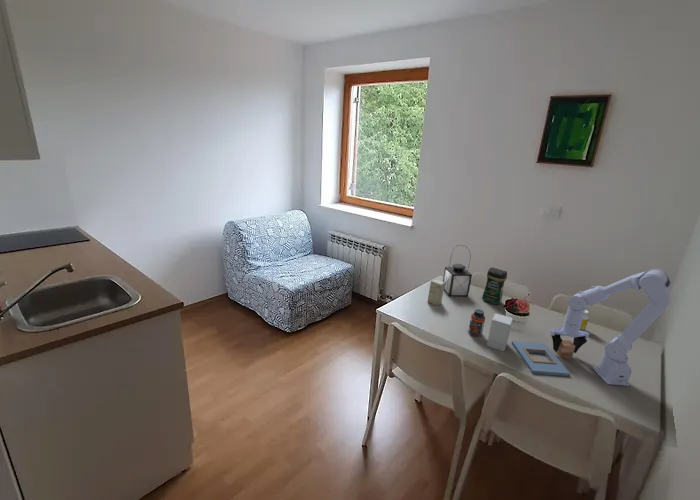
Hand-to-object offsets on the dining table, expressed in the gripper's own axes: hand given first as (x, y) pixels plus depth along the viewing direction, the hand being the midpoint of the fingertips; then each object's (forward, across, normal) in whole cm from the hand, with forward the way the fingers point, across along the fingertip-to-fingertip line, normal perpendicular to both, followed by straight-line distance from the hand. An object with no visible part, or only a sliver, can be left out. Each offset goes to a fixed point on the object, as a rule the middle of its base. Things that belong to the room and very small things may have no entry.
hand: (564, 350), depth 147 cm
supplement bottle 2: (+2, -19, -23) cm, 30 cm away
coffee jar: (+2, +14, -47) cm, 49 cm away
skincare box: (+2, +46, -40) cm, 61 cm away
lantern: (+2, +32, -55) cm, 64 cm away
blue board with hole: (+2, +12, +4) cm, 13 cm away
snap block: (+2, 0, 0) cm, 2 cm away
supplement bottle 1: (+2, +33, -12) cm, 35 cm away
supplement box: (+2, +26, -4) cm, 26 cm away
